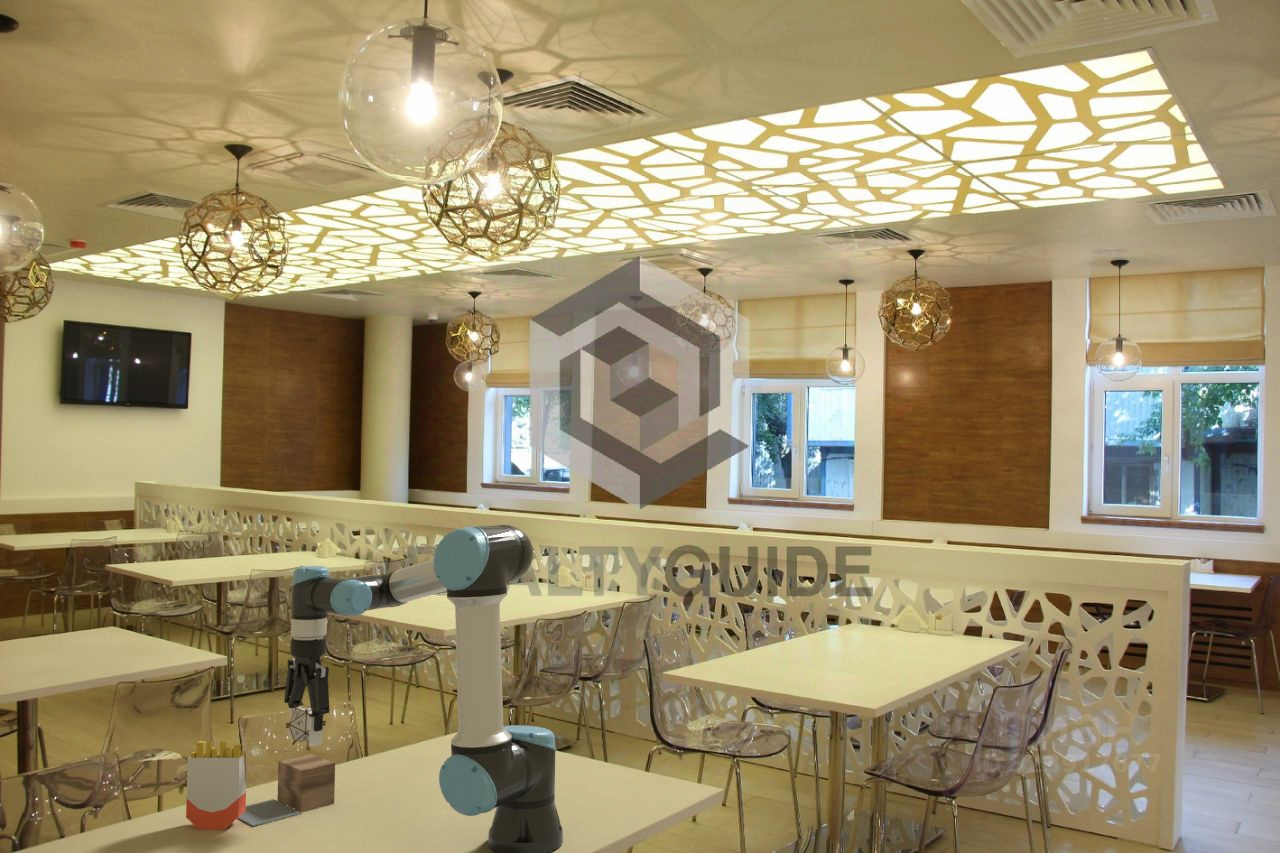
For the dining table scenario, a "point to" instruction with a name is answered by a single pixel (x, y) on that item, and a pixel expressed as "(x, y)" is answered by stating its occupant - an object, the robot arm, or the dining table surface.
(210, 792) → the french fries container
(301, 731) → the game die
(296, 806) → the cardboard box
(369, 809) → the dining table surface
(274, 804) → the mat
